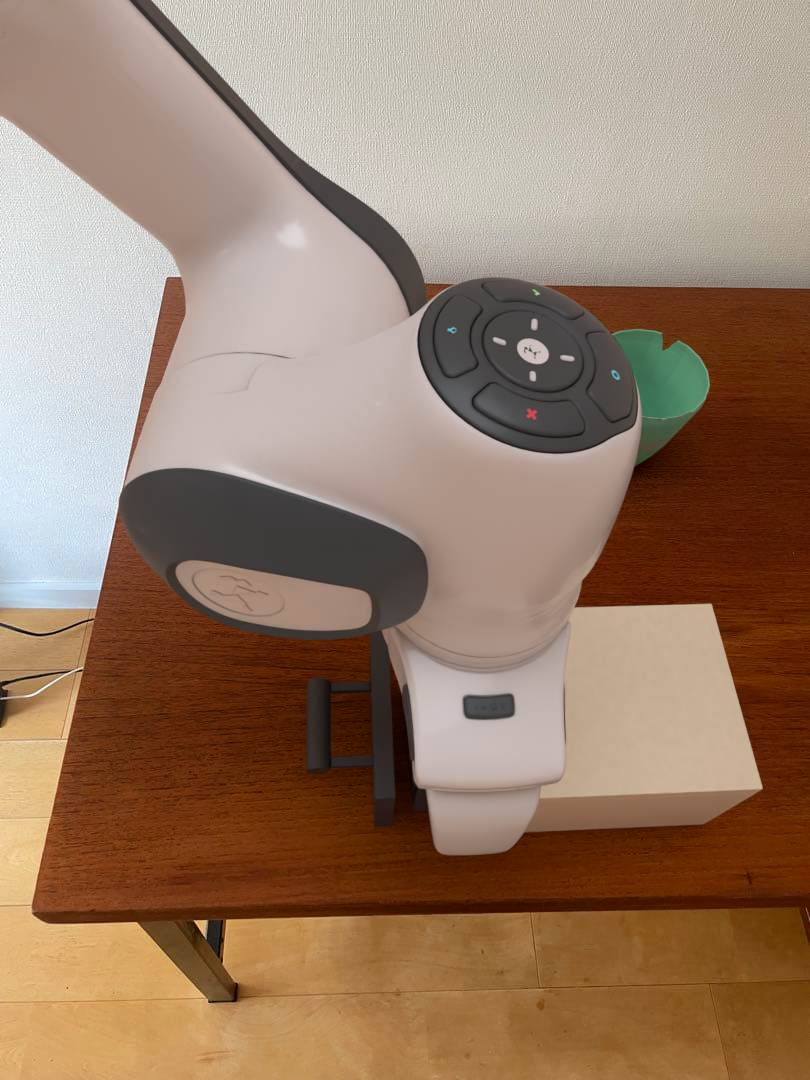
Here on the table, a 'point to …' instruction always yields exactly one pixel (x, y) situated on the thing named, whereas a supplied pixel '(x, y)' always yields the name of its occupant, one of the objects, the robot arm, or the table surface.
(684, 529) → the table surface
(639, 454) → the mug
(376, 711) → the drawer
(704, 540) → the table surface
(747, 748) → the beige cabinet housing
